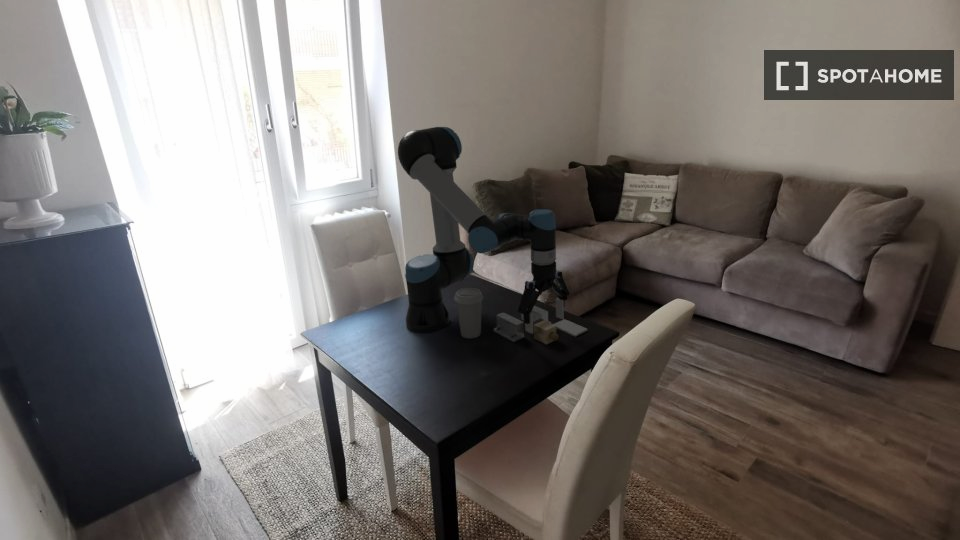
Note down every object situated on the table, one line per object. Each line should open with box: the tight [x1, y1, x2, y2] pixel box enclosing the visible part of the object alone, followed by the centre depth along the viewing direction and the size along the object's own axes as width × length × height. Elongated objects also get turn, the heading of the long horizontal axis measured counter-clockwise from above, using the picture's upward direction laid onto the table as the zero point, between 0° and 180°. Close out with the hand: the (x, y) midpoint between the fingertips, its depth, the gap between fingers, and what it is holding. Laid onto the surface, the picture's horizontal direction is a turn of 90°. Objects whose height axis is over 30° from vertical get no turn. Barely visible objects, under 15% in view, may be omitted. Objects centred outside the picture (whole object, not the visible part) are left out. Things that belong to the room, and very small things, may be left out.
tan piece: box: [529, 318, 559, 345], centre depth 156 cm, size 9×5×5 cm, turn 38°
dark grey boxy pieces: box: [493, 305, 552, 343], centre depth 164 cm, size 10×17×6 cm, turn 128°
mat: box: [552, 318, 588, 338], centre depth 162 cm, size 10×6×1 cm, turn 38°
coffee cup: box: [453, 287, 484, 339], centre depth 160 cm, size 10×10×15 cm
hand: (545, 324), depth 155 cm, fingers open, 13 cm apart
